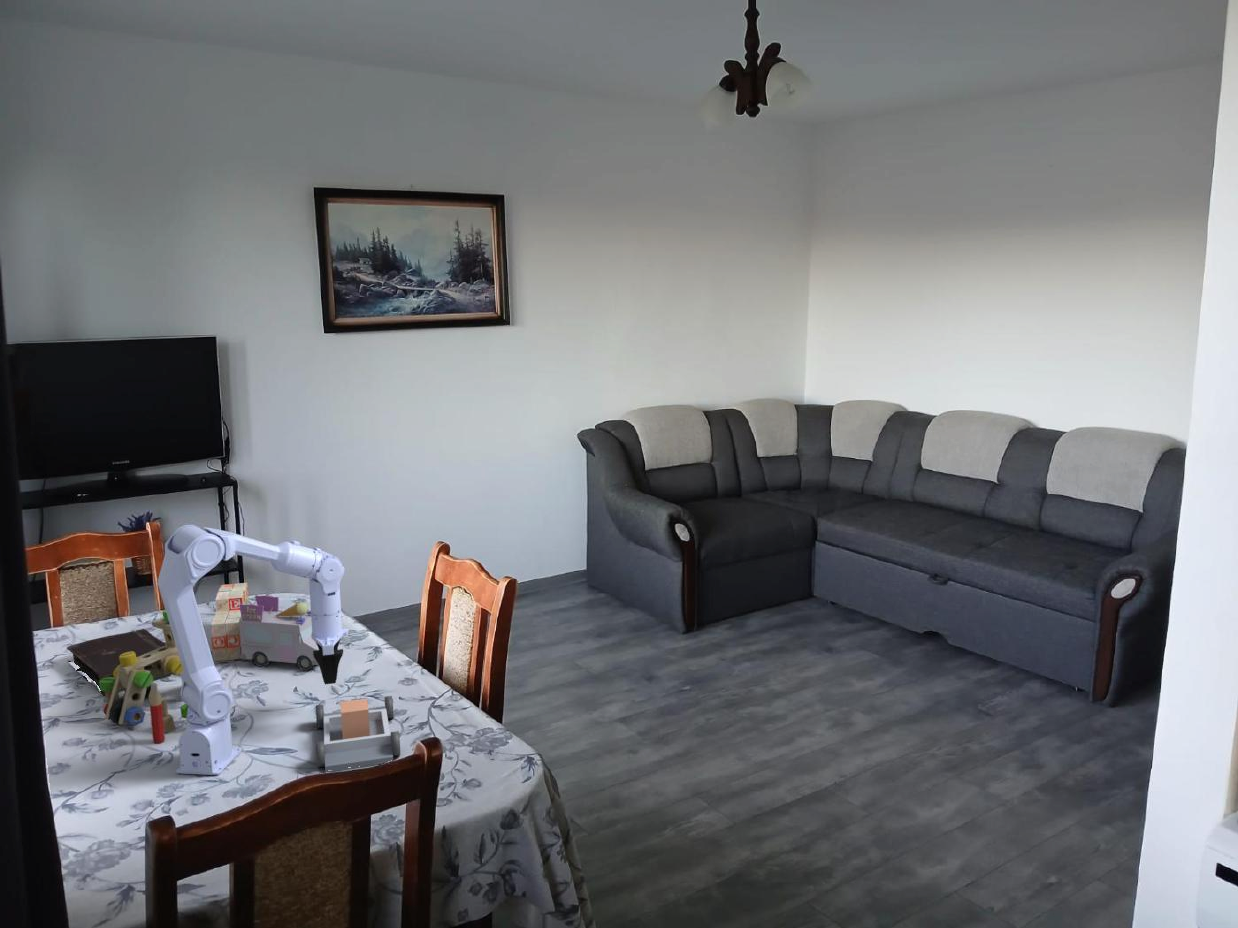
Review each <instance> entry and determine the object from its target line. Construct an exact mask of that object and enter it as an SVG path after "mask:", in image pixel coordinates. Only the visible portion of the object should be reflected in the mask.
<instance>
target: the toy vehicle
mask: <svg viewBox="0 0 1238 928" xmlns="http://www.w3.org/2000/svg"><path fill="white" fill-rule="evenodd" d="M254 597H255V602H256V604H250V603H249V604H247V605H243V604H240V612H241V620H239V627H240V639H241V652H242V654H240V658H241V659H243V660H244V659H245V660H246V659H247V660H248V659H249V660H250V661H251V664H252V665H254V664H255V665H256V666H258V667H265V666H267V665H268V664H269V663H270V662H282V663H289V664H290V663H292V664H297V665H298V668H299V669H300V670H302V671H306V672H307V671H310V670H311V669H312V668H313V667H314V666H319V664H318V663H317V661H316V660H315V658H314V656H313V651H314V650H319V648H318V646H317V644H316V642H315V641H314V640H313V639H312V637H311V633H312V621H311V610H310V611H309V606H308V605H307V604H306V602H303V601H302V602H300V601H299V602H296V604H294V605H291V606H290V607H288V608H286V609H285V610H282V611H279V609H280V607H279V605H280V603H279V600H280V599H279V598H280V597H279V596H272V595H258V594H256V595H254Z"/></svg>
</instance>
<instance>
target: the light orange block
mask: <svg viewBox="0 0 1238 928" xmlns="http://www.w3.org/2000/svg"><path fill="white" fill-rule="evenodd" d="M368 708H369V702H368V698H360V699H353V700H344V701H340V712H341V718H342V735H343V739H351V738H358V737H365V736H370V729H369V710H368Z"/></svg>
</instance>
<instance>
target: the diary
mask: <svg viewBox="0 0 1238 928" xmlns="http://www.w3.org/2000/svg"><path fill="white" fill-rule="evenodd" d="M165 645H167V644H166V642H164V641H162V640H160V639H159V638H157V637H156V636H154V635H153V634H152V633H151V632H149V631H148V630H147V629H146V628H141V629H136V630H132V631H128V632H123V633H116V634H111V635H107V636H103V637H98V638H93V639H90V640H86V641H81V642H78V643H75V644H72V645H69V646H67V647H66V649H67V650H68V651H69V652H71V654H72V657H73V658H72V659H73V660H67V663H68V662H71V661H74V663H75V664H76V665H78V666H79V667H80V668H79V669H77V670H76V671H75V672H77V671H82V672H84V673H86V674H87V675H88V676H89V677H90V678H91V679H92V680H93V681H95V682H96V684H97V685H98V686H99V688H100V685H99V681H100V680H101V679H102V678H106V677H114V676H113V672H114V670H115V669H116V668H117V666H118V665H120V664H121V663H120V660H119V656H120V655H121V654H123V653H126V652H130V651H133V652H135V654H136V658H137V657H139V656H141V655H144V654H146V653H148V652H151V651H153V650H155V649H157V648H160V647H162V646H165ZM144 670H148V671H150V674H151V675H152V676H153V682H155V681H157V680H161V679H166V678H169V677H171V676H172V673H168V674H165V675H163V674H160V673H158V672H156V670H155V668H154V667H152V666H151V665H150V664H148V665H146V666H144ZM173 675H174V676H176V677H177V675H178V674H173ZM82 678H83V679H85V681H86V682H87V681H88V680H87V678H86V677H85V676H83V677H82ZM115 680H116V679H115ZM100 692H101V693H100ZM100 692H99V693H100V695H102V697H104V696H105V692H104V691H100ZM122 692H124V689H122V690H121V691H120V692H119V693H122Z"/></svg>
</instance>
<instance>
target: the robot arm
mask: <svg viewBox="0 0 1238 928" xmlns="http://www.w3.org/2000/svg"><path fill="white" fill-rule="evenodd" d="M203 529H204V530H203ZM203 529H202V528H201V527H199V526H197V525H194V524H184V525H182V526H180V527H178V528H177V529H176V530H175V531H174V532H173V533H172V534H171V536H170V537H169V538H168V539H167V540H166V542H165V543H164V558H163V560H162V565H161V567H160V571H159V575H158V580H157V584H158V585H157V586H158V589H159V593H160V596H161V600H162V603H163V606H164V610H166V613H167V617H168V620H169V623H170V627H171V630H172V633H173V637H174V640H175V644H176V647H177V650H178V654H179V657H180V661H181V664H182V667H183V672H182V674H181V676H180V678H181V688H180V698H181V699H180V700H182V702H183V703H184V704H186V705H188V712H187V719H186V720H187V721H186V727H185V729H184V731H183V732H182V734H181V735H180V737H179V740H178V750H179V759H180V766H179V767H178V769H176V773H177V774H183V775H184V774H187V775H204V776H205V775H207V776H208V775H209V776H212V775H213V776H219V775H220V774H221V773H222V772H223V771H224V770H225V769H226V768H227V766H229V765H230V763H231V762H232V761H234V760H235V758H236V757H237V756H238V755H239V754H240V753H241V752H242V751H243V748H242V747H241V746H233V740H232V739H233V738H232V727H231V711H232V709H233V706H234V702H235V700H234V695H233V693H232V692H231V691H230V690H229V689H228V688H227V687H226V686H225V685H224V681H223V678H222V676H221V674H220V673H219V672H218V669H217V668H216V666H215V662H214V661H213V655H212V653H211V649H210V646H209V642H208V639H207V635H206V631H205V628H204V625H203V621H202V618H201V614H200V611H199V607H198V603H197V600H196V596H195V593H194V589H193V588H194V587H195V585H196V584H197V583H198V581H199V580H200V579H201V578H203V577H204V576H205V575H207V573H209V572H210V571H211V570H213V569H214V568H215V567H216V566H217V565H218V564H219V563H220V562H221V561H222V560H223V561H226V562H227V561H229V560H230V559H231V558H232V557H234V556H236V555H237V556H241V557H247V558H250V559H255V560H259V561H264V562H269V563H270V564H271V566H272V568H273V570H274V571H276V572H280V573H284V574H288V575H290V576H291V575H293V576H295V577H296V576H297V577H301V578H305V579H308V582H309V583H308V585H309V601H310V602H309V603H310V611H311V621H312V633H311V637H312V639H313V640H314V641H315V642H316V644H317V646H318V648H319V650H314V651H313V656H314V658H315V660H316V661H317V663H318V666H319V668H320V669H319V670H320V672H321V676H322V680H323V684H324V685H331V684H332V685H333V684H336V682H337V678H338V673H339V667H340V666H339V665H340V662H341V658H342V657H343V655H344V648H341V649H338V648H339V644H340V641H341V639H342V637H344V636H347V635H349V628H343V623H342V605H341V602H342V601H341V586H340V585H341V580H342V578H343V576H344V574H345V569H346V568H345V567H344V566H343V563H342V561H341V560H340V558H339V557H337V556H335V555H333V554H331V553H329V552H326V551H324V550H322V549H321V548H319V547H313V548H310V547H306V546H303V545H300V544H301V543H300V542H299V541H297V540H293V539H290V542H288V541H282V542H280V543H278V544H277V545H274V544H270V543H266V542H263V541H261V540H257V539H254V538H250V537H247V536H244V535H242V534H238V533H234V532H231V531H227V530H222V529H217V528H211V527H203Z"/></svg>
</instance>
